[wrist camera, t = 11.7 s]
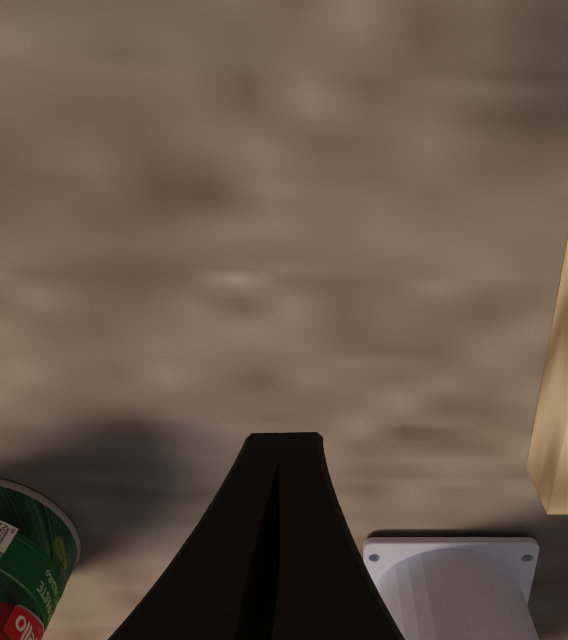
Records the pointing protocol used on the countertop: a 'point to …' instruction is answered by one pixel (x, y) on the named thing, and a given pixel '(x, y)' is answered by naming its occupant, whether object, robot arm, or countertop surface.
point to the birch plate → (553, 414)
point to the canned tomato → (32, 560)
